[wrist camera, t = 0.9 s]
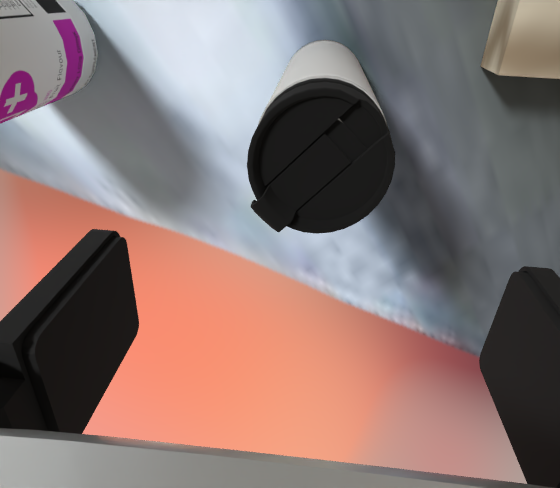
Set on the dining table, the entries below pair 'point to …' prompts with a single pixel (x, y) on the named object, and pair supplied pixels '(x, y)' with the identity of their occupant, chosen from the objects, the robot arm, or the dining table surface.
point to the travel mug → (320, 144)
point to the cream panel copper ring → (524, 39)
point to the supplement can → (42, 53)
